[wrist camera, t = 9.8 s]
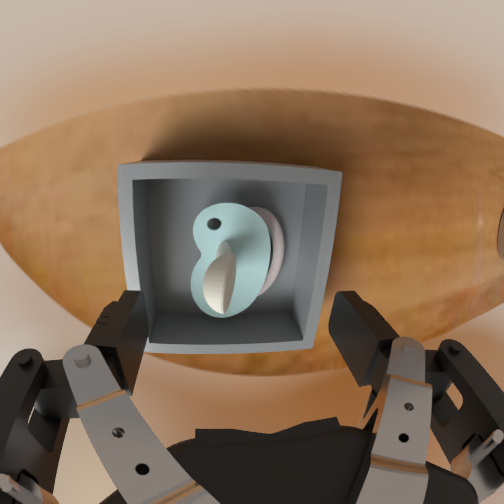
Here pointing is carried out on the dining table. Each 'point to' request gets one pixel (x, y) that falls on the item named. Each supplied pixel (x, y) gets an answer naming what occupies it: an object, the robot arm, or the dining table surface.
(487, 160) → the dining table surface
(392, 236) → the dining table surface
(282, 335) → the bin
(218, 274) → the pacifier
